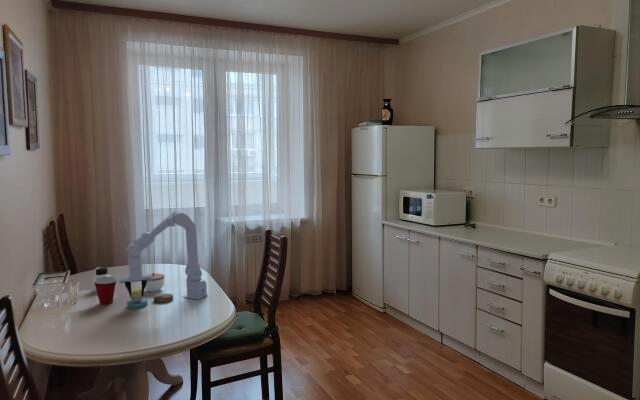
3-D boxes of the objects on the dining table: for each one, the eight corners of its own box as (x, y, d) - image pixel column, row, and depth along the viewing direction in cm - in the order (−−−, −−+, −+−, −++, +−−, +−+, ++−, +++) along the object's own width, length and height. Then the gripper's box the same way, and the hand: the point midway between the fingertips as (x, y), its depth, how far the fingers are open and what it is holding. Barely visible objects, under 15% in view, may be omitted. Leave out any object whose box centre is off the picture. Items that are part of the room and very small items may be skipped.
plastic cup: (109, 307, 224) (108, 282, 222) (89, 305, 226) (88, 281, 225) (123, 299, 234) (122, 276, 233) (104, 298, 236) (102, 275, 235)
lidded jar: (151, 294, 242) (150, 276, 241) (139, 291, 249) (138, 273, 248) (169, 289, 251) (168, 272, 250) (157, 286, 257) (156, 269, 256)
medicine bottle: (112, 287, 256) (111, 266, 254) (105, 291, 249) (103, 269, 247) (99, 287, 256) (98, 266, 255) (92, 291, 249) (90, 269, 248)
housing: (141, 301, 222) (141, 290, 222) (131, 302, 221) (131, 291, 220) (142, 296, 229) (141, 286, 228) (132, 297, 227) (131, 287, 227)
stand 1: (151, 303, 228) (151, 299, 227) (137, 309, 219) (136, 305, 219) (137, 301, 231) (137, 297, 231) (123, 307, 223) (122, 302, 223)
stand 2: (177, 298, 235) (176, 294, 235) (163, 304, 227) (163, 300, 227) (163, 296, 239) (163, 292, 238) (149, 301, 231) (149, 297, 230)
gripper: (151, 265, 230) (152, 292, 231) (119, 268, 225) (120, 295, 226) (151, 268, 223) (153, 296, 224) (118, 271, 218) (120, 300, 220)
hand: (136, 296), depth 225 cm, fingers closed on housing, 4 cm apart
